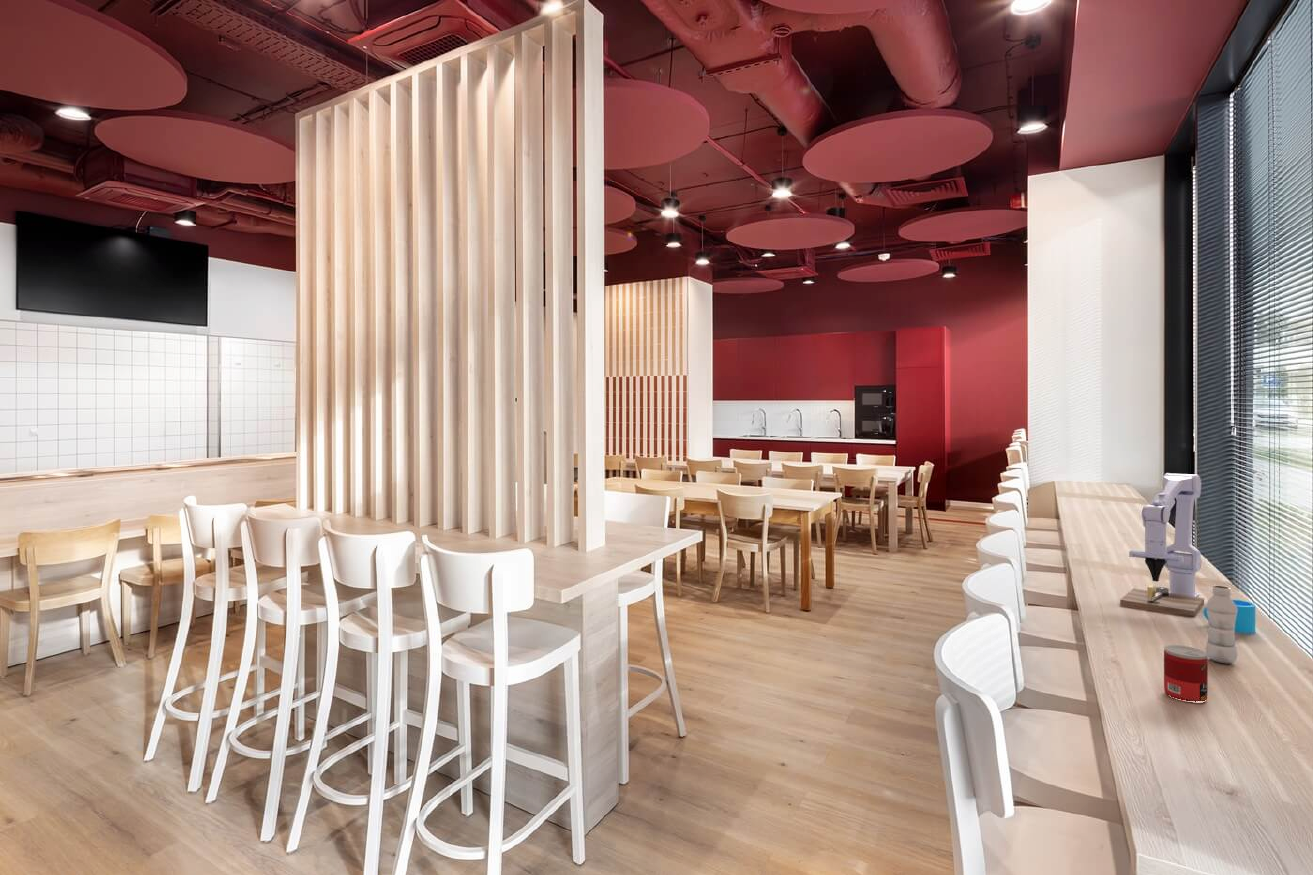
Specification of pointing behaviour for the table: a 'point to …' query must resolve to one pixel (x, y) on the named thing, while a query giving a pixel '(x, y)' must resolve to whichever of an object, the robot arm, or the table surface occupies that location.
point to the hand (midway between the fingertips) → (1155, 580)
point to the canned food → (1185, 673)
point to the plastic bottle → (1221, 626)
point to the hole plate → (1163, 603)
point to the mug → (1242, 617)
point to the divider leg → (1156, 592)
